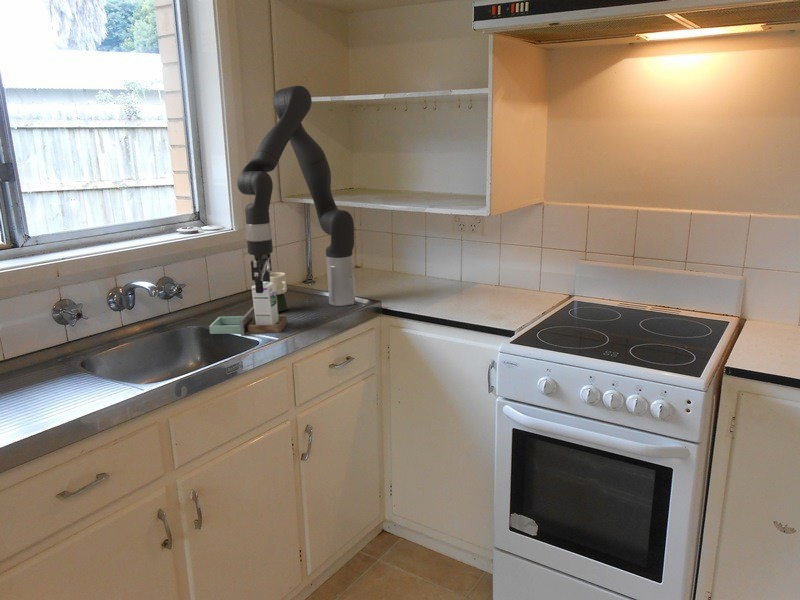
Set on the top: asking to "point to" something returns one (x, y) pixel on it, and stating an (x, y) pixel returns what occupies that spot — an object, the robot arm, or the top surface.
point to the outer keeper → (228, 329)
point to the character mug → (280, 289)
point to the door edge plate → (246, 321)
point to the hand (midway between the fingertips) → (263, 289)
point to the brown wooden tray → (267, 326)
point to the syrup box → (266, 305)
